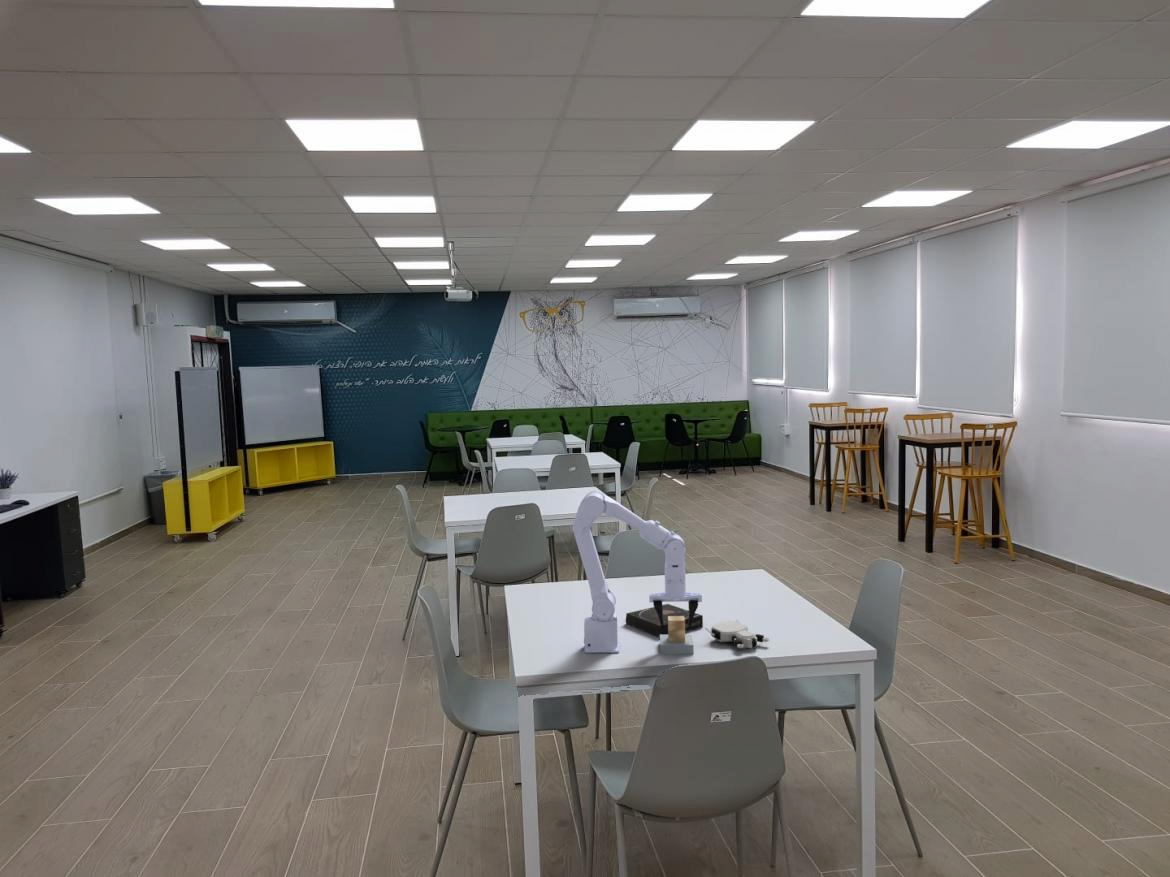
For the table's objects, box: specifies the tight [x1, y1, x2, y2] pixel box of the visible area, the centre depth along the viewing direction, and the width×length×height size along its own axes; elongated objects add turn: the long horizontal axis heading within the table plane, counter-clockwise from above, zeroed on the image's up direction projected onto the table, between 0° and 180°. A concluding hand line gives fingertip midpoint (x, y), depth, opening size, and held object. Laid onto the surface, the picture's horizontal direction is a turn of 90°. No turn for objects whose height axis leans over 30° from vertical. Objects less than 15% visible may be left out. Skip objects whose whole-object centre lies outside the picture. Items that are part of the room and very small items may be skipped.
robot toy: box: [704, 619, 770, 649], centre depth 229 cm, size 12×4×15 cm
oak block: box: [668, 616, 686, 642], centre depth 225 cm, size 4×4×6 cm
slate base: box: [659, 634, 694, 655], centre depth 226 cm, size 9×9×3 cm
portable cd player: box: [625, 603, 704, 639], centre depth 247 cm, size 16×17×4 cm
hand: (676, 626), depth 225 cm, fingers open, 7 cm apart
